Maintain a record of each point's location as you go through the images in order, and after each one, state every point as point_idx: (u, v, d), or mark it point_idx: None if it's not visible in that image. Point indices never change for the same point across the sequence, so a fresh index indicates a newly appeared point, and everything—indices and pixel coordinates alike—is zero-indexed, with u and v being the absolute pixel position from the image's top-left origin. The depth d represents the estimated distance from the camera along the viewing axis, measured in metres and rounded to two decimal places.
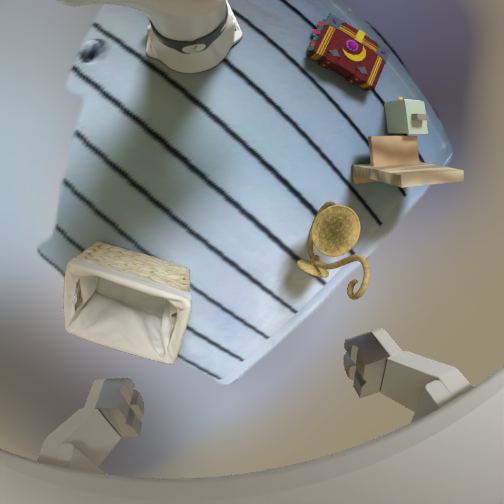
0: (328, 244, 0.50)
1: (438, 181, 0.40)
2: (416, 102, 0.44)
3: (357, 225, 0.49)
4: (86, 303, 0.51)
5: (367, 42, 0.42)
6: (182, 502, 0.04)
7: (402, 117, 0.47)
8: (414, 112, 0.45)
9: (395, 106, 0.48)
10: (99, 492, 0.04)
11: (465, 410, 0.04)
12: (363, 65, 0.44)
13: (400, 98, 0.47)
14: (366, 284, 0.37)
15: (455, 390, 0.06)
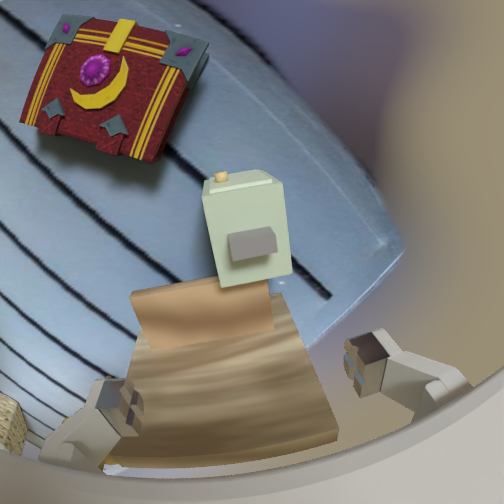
0: None
1: (232, 461, 0.15)
2: (249, 193, 0.19)
3: None
4: None
5: (139, 42, 0.17)
6: (182, 502, 0.04)
7: None
8: (241, 226, 0.20)
9: None
10: (99, 492, 0.04)
11: (465, 410, 0.04)
12: (120, 110, 0.19)
13: (218, 177, 0.21)
14: None
15: (455, 390, 0.06)
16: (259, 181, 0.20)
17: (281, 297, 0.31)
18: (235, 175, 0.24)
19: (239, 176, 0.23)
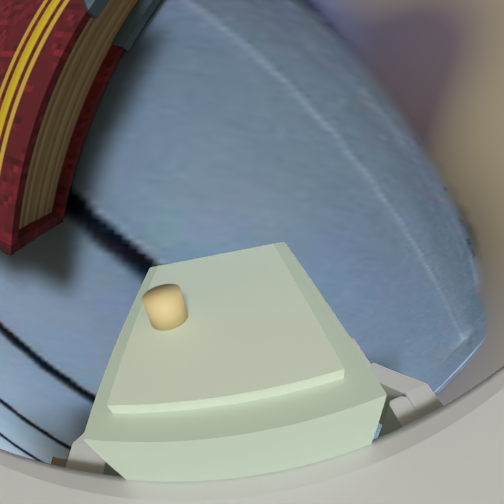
0: None
1: None
2: (257, 442, 0.04)
3: None
4: None
5: None
6: (182, 502, 0.04)
7: None
8: None
9: None
10: (98, 492, 0.04)
11: (465, 410, 0.04)
12: None
13: (154, 315, 0.06)
14: None
15: (422, 408, 0.06)
16: (295, 380, 0.05)
17: None
18: (215, 275, 0.09)
19: (224, 289, 0.08)
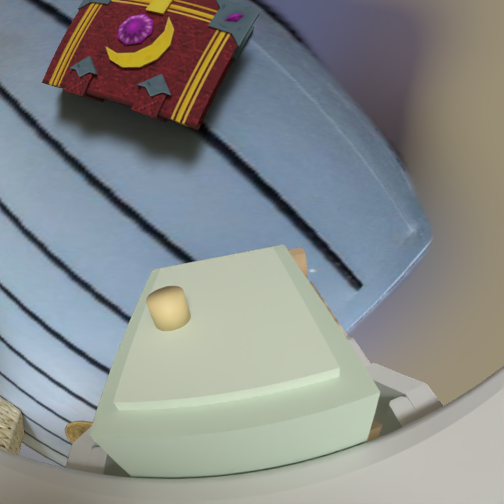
0: None
1: None
2: (257, 437, 0.04)
3: None
4: None
5: (186, 5, 0.15)
6: (182, 502, 0.04)
7: None
8: None
9: None
10: (98, 492, 0.04)
11: (465, 410, 0.04)
12: (163, 70, 0.17)
13: (158, 316, 0.07)
14: None
15: (422, 408, 0.06)
16: (293, 378, 0.05)
17: (312, 286, 0.28)
18: (217, 278, 0.09)
19: (226, 291, 0.08)
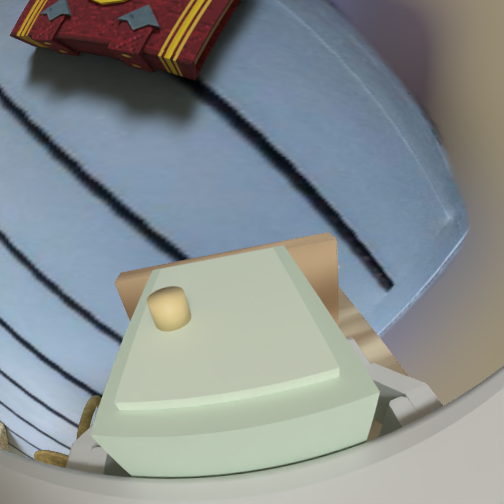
0: None
1: None
2: (257, 436, 0.04)
3: None
4: None
5: None
6: (182, 502, 0.04)
7: None
8: None
9: None
10: (99, 492, 0.04)
11: (465, 410, 0.04)
12: (151, 2, 0.10)
13: (158, 316, 0.07)
14: None
15: (422, 408, 0.06)
16: (293, 378, 0.05)
17: None
18: (217, 278, 0.09)
19: (226, 291, 0.08)
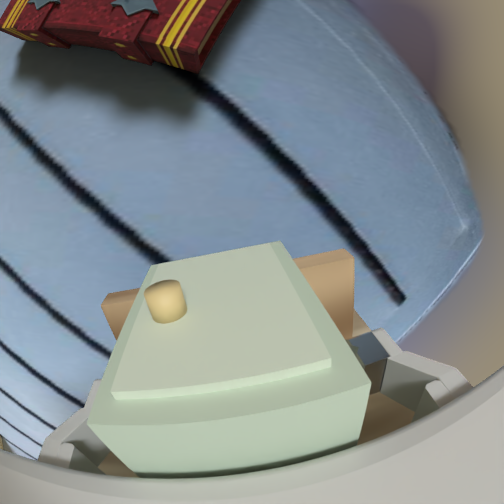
0: None
1: None
2: (249, 426, 0.04)
3: None
4: None
5: None
6: (182, 502, 0.04)
7: None
8: (224, 474, 0.05)
9: None
10: (99, 492, 0.04)
11: (465, 410, 0.04)
12: None
13: (155, 309, 0.07)
14: None
15: (455, 390, 0.06)
16: (285, 368, 0.05)
17: None
18: (213, 272, 0.09)
19: (222, 285, 0.08)
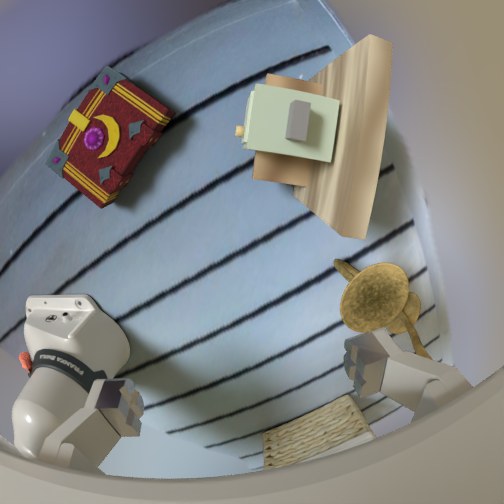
0: (386, 308, 0.33)
1: (381, 126, 0.18)
2: (256, 110, 0.20)
3: (383, 266, 0.30)
4: None
5: (89, 107, 0.27)
6: (182, 502, 0.04)
7: None
8: (282, 126, 0.21)
9: (257, 150, 0.25)
10: (99, 492, 0.04)
11: (465, 410, 0.04)
12: (127, 123, 0.29)
13: (239, 133, 0.24)
14: None
15: (455, 390, 0.06)
16: (250, 100, 0.21)
17: (311, 79, 0.31)
18: None
19: None
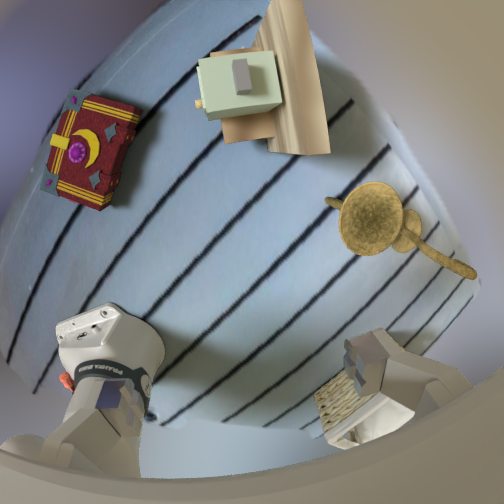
0: (386, 227, 0.34)
1: (310, 55, 0.19)
2: (205, 80, 0.22)
3: (368, 186, 0.31)
4: None
5: (65, 127, 0.30)
6: (182, 502, 0.04)
7: (244, 108, 0.25)
8: (230, 85, 0.23)
9: (218, 115, 0.27)
10: (98, 492, 0.04)
11: (465, 410, 0.04)
12: (102, 130, 0.31)
13: (199, 105, 0.26)
14: (468, 274, 0.20)
15: (455, 390, 0.06)
16: (198, 75, 0.23)
17: (252, 47, 0.32)
18: None
19: None
